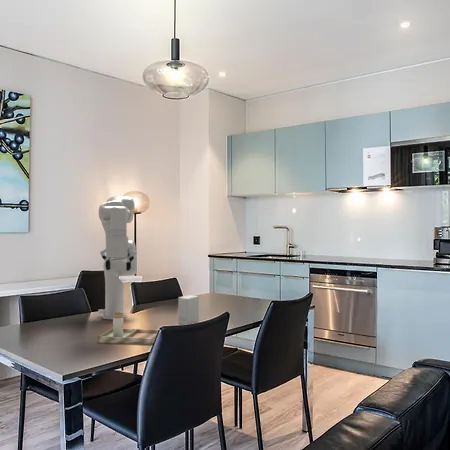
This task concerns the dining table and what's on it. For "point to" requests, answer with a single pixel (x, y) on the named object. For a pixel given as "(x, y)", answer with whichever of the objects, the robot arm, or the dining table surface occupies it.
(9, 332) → the dining table surface
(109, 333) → the sorting tray
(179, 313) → the skincare box
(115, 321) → the cylinder
